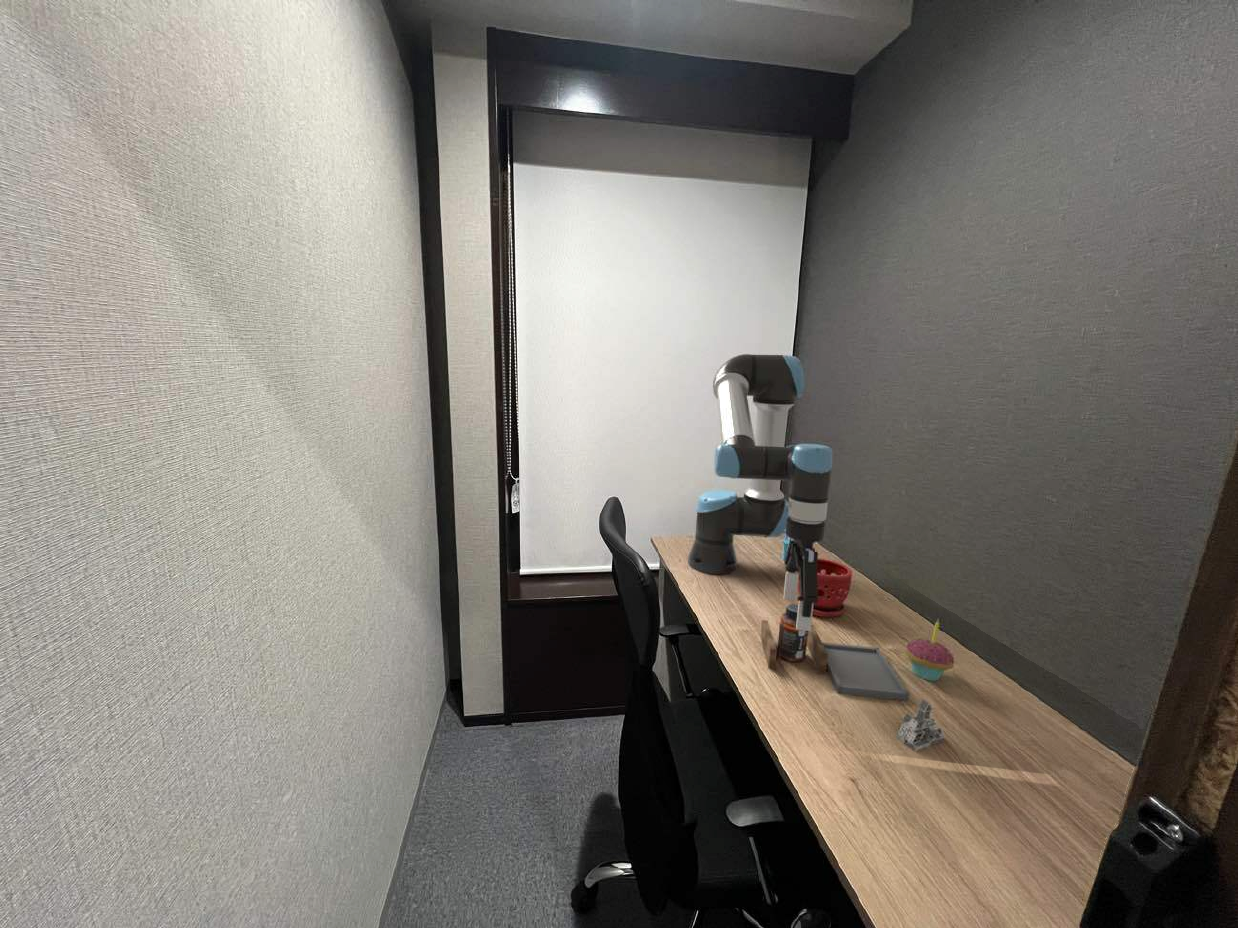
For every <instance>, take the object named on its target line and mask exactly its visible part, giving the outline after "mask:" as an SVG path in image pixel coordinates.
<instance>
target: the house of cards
mask: <svg viewBox="0 0 1238 928" xmlns="http://www.w3.org/2000/svg"><path fill="white" fill-rule="evenodd" d="M916 707H917V712H916V713H917V714H916V715H914V716H913V715H911V714H910V713H909V712H908V711H906V712H905V713H904V715H903V716H902V719H901V727H900V729H898V731H897V732H896V737H897V738H898V739H899V740H901V742H903V744H905V745H906V746H908V747H910V748H911V749H912V750H914V752H916V753H917V751H919V750H922V749H925V748H927V747H930V748H931V747H932V745H935V744H939V743H942V742H944V743H945V741H946V735H944V734H943V733H942V730H941V727H940V726H938V725H937V724H936V722H935V718H934V717H932V716H931V711H933V709H932V706H931V704H930V702H928V701H927V700H925V699H924V698H922V699H921V701H920V703H919V704H918V706H916Z"/></svg>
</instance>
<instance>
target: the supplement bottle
mask: <svg viewBox="0 0 1238 928" xmlns="http://www.w3.org/2000/svg"><path fill="white" fill-rule="evenodd" d="M797 613H798V603H789V604H787V605H786V608H785V612H784V613H782V614H781V615H780V619H779V626H778V627H779V630H778V637H777V638H778V639H777V645H776V646H777V647H776V649H777V651H776V653H777V654H778V655H779V656H780V657H781V658H782V659H784V660H787V661H790V662H796V663H797V662H802V661H804V659H805V657H806V655H807V648H808V646H807V639H808V631H805V630H797V629H796V623H797Z"/></svg>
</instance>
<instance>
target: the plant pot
mask: <svg viewBox="0 0 1238 928" xmlns="http://www.w3.org/2000/svg"><path fill="white" fill-rule="evenodd" d="M823 570H824V571H825V573H822V571H823ZM796 573H799V572H796ZM832 574H834V575H832ZM852 576H853V571H852V570H851V569H850V568H849V567H848V566H847V565H845V564H844V563H843V564H842V563H840V562H838V561H834V560H830V559H823V558H818V560H817V581H818V603H814V605H813V614H812V615H814V616H819V617H824V618H831V617H832V618H833V617H837V616H840V615H842V614H843V613H844V612H845V607H846V606H845V605H844V602H846V599H847V597H848V594H849V592H850V589H851V583H852ZM797 592H798V593H799V595H798V597H801V592H800V577H799V579H798V588H797ZM796 601H797V604H799V601H798V600H797V599H796Z"/></svg>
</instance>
